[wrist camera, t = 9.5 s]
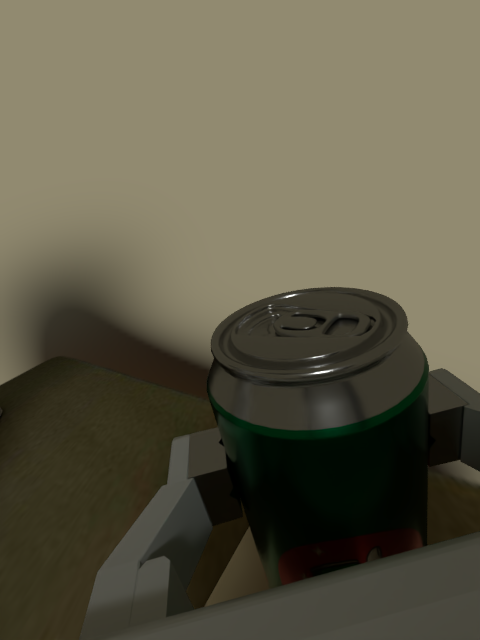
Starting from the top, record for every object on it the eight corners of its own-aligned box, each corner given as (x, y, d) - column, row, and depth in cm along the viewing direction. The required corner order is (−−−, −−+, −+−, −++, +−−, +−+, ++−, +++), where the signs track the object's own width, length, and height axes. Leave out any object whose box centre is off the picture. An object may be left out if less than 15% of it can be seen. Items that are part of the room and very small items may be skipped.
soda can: (310, 519, 15) (263, 282, 11) (434, 576, 12) (443, 279, 8) (255, 642, 12) (147, 362, 7) (412, 765, 9) (401, 417, 4)
